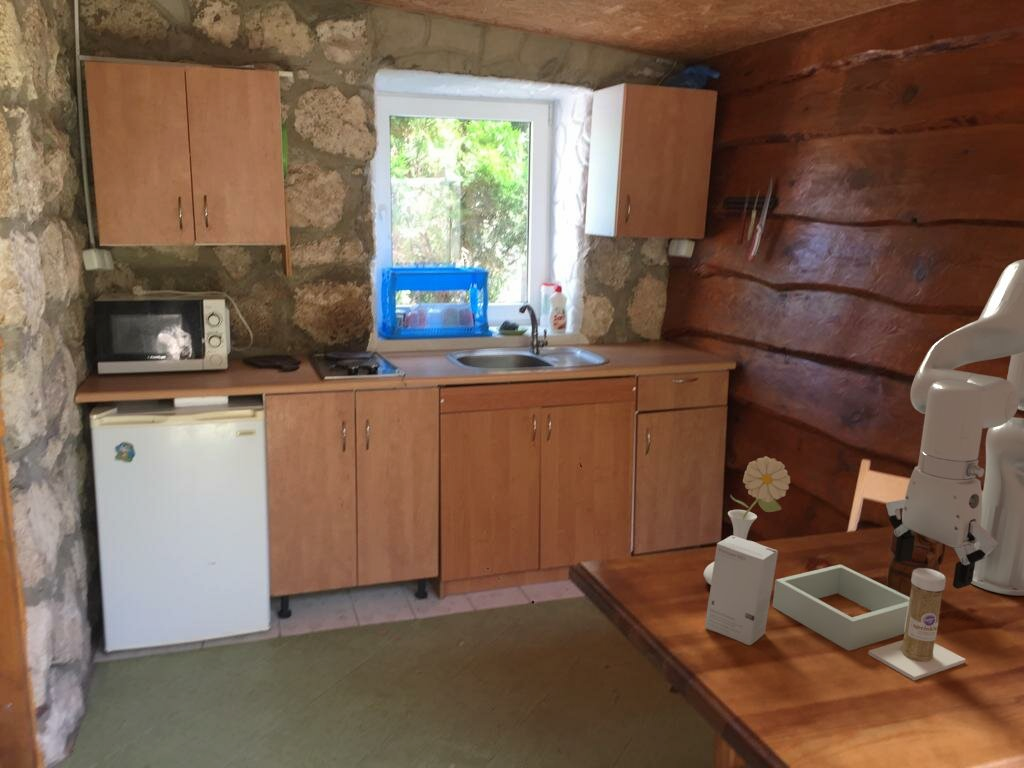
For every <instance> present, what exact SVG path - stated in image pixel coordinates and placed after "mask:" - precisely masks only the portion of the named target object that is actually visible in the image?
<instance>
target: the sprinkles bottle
mask: <svg viewBox="0 0 1024 768" xmlns="http://www.w3.org/2000/svg"><path fill="white" fill-rule="evenodd" d="M946 580H947V578H946V576H945V575H944V574H943V573H942V572H940V571H939V572H938V571H935V570H932V569H926V568H917V569H915V570H913V573H912V578H911V582H912V583H911V584H912V587H911V594H910V599H909V602H908V609H907V615H906V622H905V629H904V632H905V633H904V634H903V639H902V640H903V645H902V647H901V650H902V652H903V654H905V655H906V656H908V657H910V658H913V659H915V660H920V661H929V660H931V659H932V658H933V649H934V643H936V638H937V633H938V626H939V621H940V612H941V606H942V605H941V604H942V597H943V593H944V590H945V587H946Z"/></svg>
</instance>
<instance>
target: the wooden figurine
mask: <svg viewBox="0 0 1024 768" xmlns="http://www.w3.org/2000/svg"><path fill="white" fill-rule="evenodd" d="M900 515H901V516H902V514H900ZM894 530H895V529H894V528H893V530H892V534H891V539H890V543H889V544H890V545H889V547H890V551H891V552H892V555H893V556H892V558H891V561H890V563H889V567H888V572H887V577H886V578H887V580H886V586H887V587H889V588H891V589H893V590H895V591H897V592H899V593H902V594H904V595H906V596H908V597H910V594H911V587H912V584H911V583H912V582H911V578H912V573H913V570H915V569H917V568H926V569H932V570H935V571H938V572H940V567H939V566H940V565H942V563H944V562H943V561H944V557H945V554H946V553H945V552H946V546H947V545H945V544H943V543H940V542H938V541H935V540H933V539H930V538H928V537H926V536H923V535H921V534H918V533H916V532H914V531H913V532H912V533H911V534H913V535H914V537H915V540H914V548H913V555H912V558H911V559H909V560H906V561H902V562H897V561H895V557H896V543H897V536H896V535H895V534H894Z"/></svg>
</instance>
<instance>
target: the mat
mask: <svg viewBox="0 0 1024 768" xmlns="http://www.w3.org/2000/svg"><path fill="white" fill-rule="evenodd" d="M903 640H904V639H902V640H899V641H895V642H891V643H889V644H885V645H883V646H880V647H876V648H873V649H870V650H868V652H867V653H868V656H870V657H872V658H874V659H876V660H877V661H879V662H881V663H882V664H885V665H886V666H888V667H890V668H891V669H893V670H894V671H896V672H898V673H900V674H902V675H903V676H905V677H907V678H908V679H910V680H912V681H917V680H919V679H923V678H925V677H929V676H931V675H934V674H936V673H939V672H942V671H946V670H948V669H951V668H954V667H956V666H959V665H962V664H964V663H966V658H965V657H962V656H960V655H958V654H957V653H955V652H953V651H951V650H949V649H947V648H946V647H943V646H941V645H939V644H937V643H936V642H934V649H933V658H932V659H931V660H929V661H920V660H915V659H913V658H910V657H908V656H906V655H905V654H903V652H902V650H901V647H902V645H903Z"/></svg>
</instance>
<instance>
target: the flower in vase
mask: <svg viewBox="0 0 1024 768" xmlns="http://www.w3.org/2000/svg"><path fill="white" fill-rule="evenodd" d="M785 467H786V466H785V464H783V462H781V461H777V459H776V458H770V457H768V456H764V457H759V458H757V459H756V460H753V461H750V462H749V463H748V465H747V466H746V470H745V471H744V475H743V480H742V483H743V484H745V485H744V487H745V489H747V490H748V492H747V493H748V495H750V496H752V497H753V498H755V501H754V502H753V503H752V504H751V506H748V505H747V504H746V503H745V502H743V501H741V500H738V499H736V498H734V497H733V495H732V494H730V498H731V500H733V501H734V502H737V503H738V504H739V505H742V506H743V507H746V508H747V510H744V509H733V510H729V511H728V512H727V515H728V516H729V518H730V521H731V524H732V528H733V536H736V537H739V538H742V539H745V540H748V539H747V537H748V535H749V534H748V533H749V531H750V527H751V526H752V524H753V523H754V521H755V520H757V518H758V516H757V514H755V513H753V512H751V510H752V508H753V507H754V506H755V505H756V504H757V503H758V506H759V507H760V508H761V510H763V512H767V513H771V512H777V511H781V510H782V506H781V505H780V504H779V503H778V501H777V500H779V499H781V498H783V497H785V496H786V494H787V490H789V489H790V486H789V484H791V476H790V475H789V474H788V473H789V472H788V470H787V469H785ZM713 568H714V561H713V562H711V563H710V564H708V565H707V566H706V567H705V569H704V571H703V577H704V579H705V581H706V582H707V583H708V584H709V585H710V586H711V581H712V574H713Z"/></svg>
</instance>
